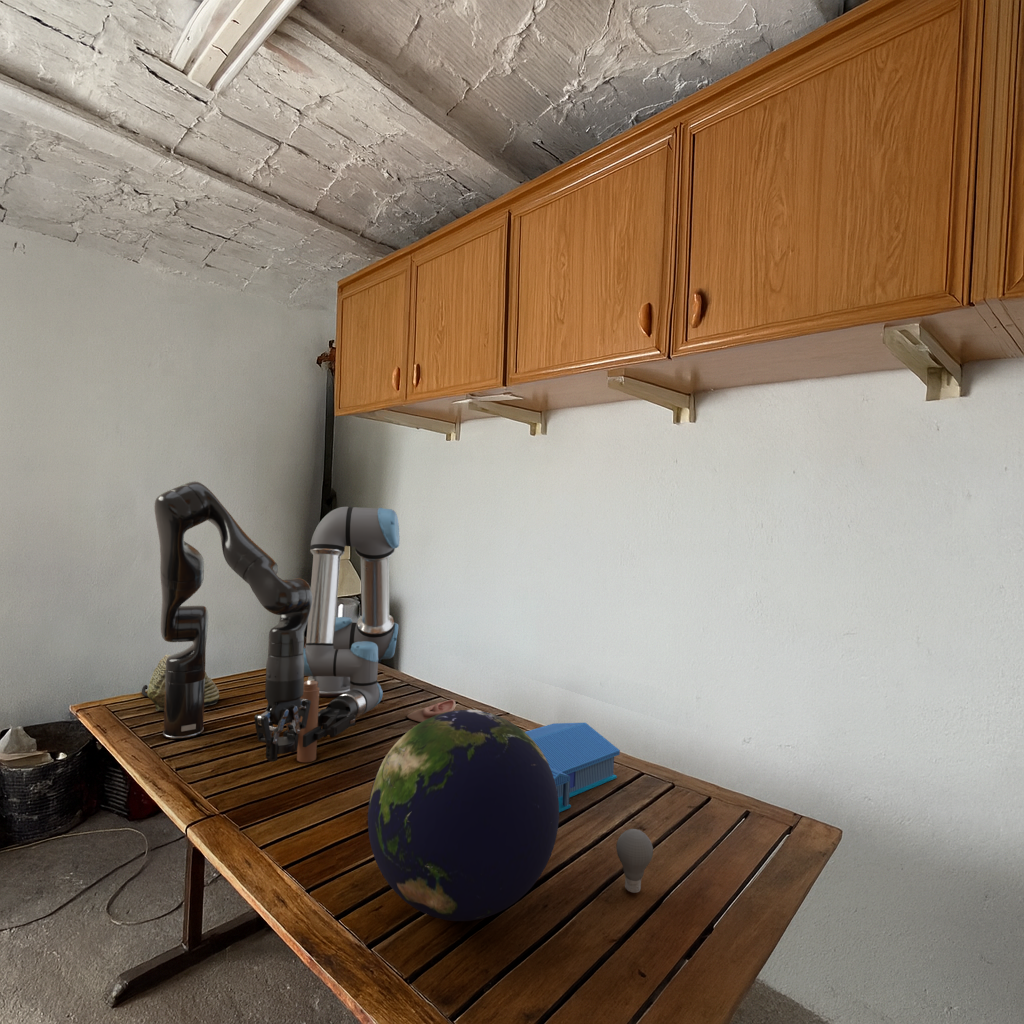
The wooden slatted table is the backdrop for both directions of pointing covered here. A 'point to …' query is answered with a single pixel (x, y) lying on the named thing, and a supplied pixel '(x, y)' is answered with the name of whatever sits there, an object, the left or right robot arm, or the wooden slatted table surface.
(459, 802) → the globe
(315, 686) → the brown rounded cylinder
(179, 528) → the left robot arm
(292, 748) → the lid
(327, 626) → the right robot arm
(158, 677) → the fossil
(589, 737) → the model building
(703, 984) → the wooden slatted table surface
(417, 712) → the anatomical model
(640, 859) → the light bulb
